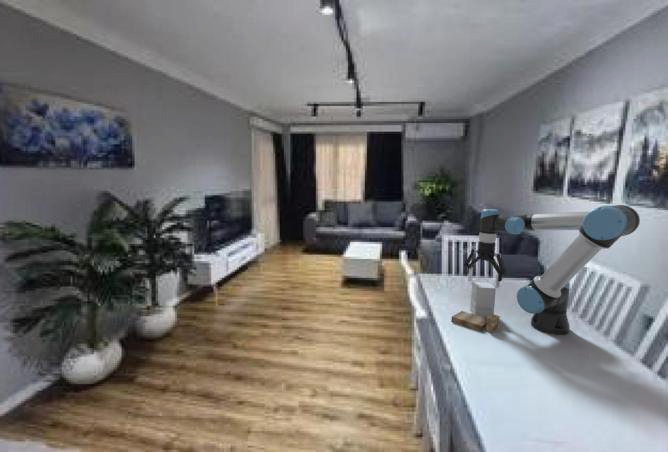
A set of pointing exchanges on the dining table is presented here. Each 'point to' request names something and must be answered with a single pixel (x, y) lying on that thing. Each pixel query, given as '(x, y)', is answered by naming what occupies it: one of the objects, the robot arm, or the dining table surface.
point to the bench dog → (492, 323)
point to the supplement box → (482, 299)
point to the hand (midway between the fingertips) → (483, 284)
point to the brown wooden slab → (470, 320)
